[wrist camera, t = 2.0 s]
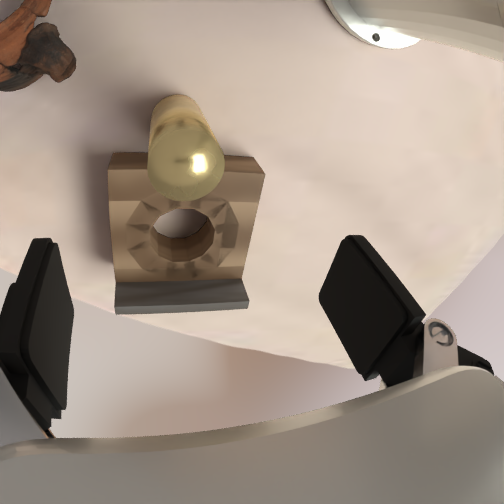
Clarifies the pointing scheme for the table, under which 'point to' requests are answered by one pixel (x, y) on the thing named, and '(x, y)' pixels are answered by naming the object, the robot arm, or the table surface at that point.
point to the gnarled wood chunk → (32, 48)
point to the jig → (180, 240)
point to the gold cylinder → (182, 151)
